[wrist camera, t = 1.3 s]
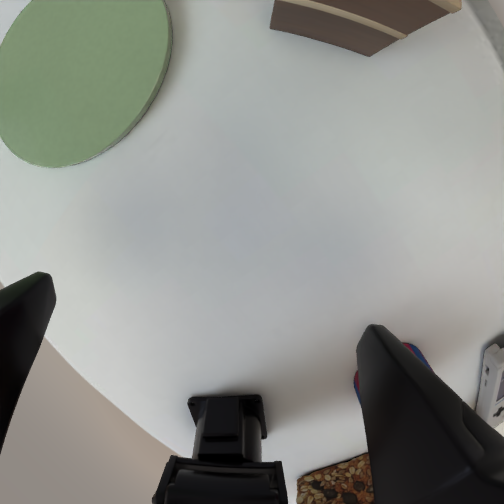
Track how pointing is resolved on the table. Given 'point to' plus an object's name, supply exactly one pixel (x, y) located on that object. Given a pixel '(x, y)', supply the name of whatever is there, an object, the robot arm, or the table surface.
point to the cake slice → (358, 20)
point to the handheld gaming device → (492, 387)
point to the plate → (80, 76)
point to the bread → (338, 484)
